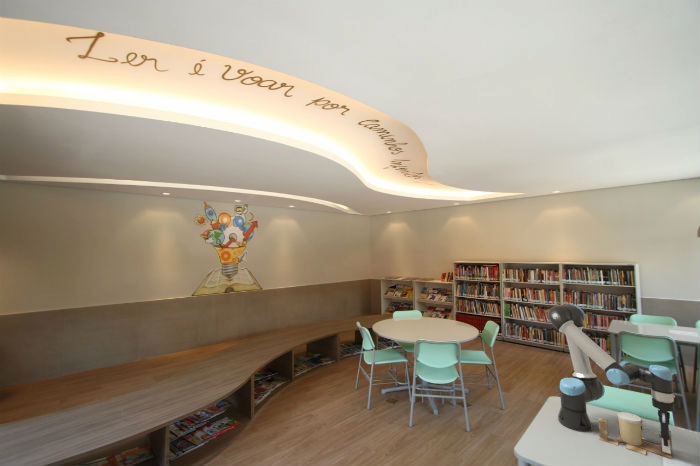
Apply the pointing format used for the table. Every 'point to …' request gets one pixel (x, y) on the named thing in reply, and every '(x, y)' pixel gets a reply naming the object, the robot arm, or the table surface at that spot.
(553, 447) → the table surface
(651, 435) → the coaster
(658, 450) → the wooden l bracket
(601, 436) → the broken strip
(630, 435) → the coffee cup
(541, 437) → the table surface
